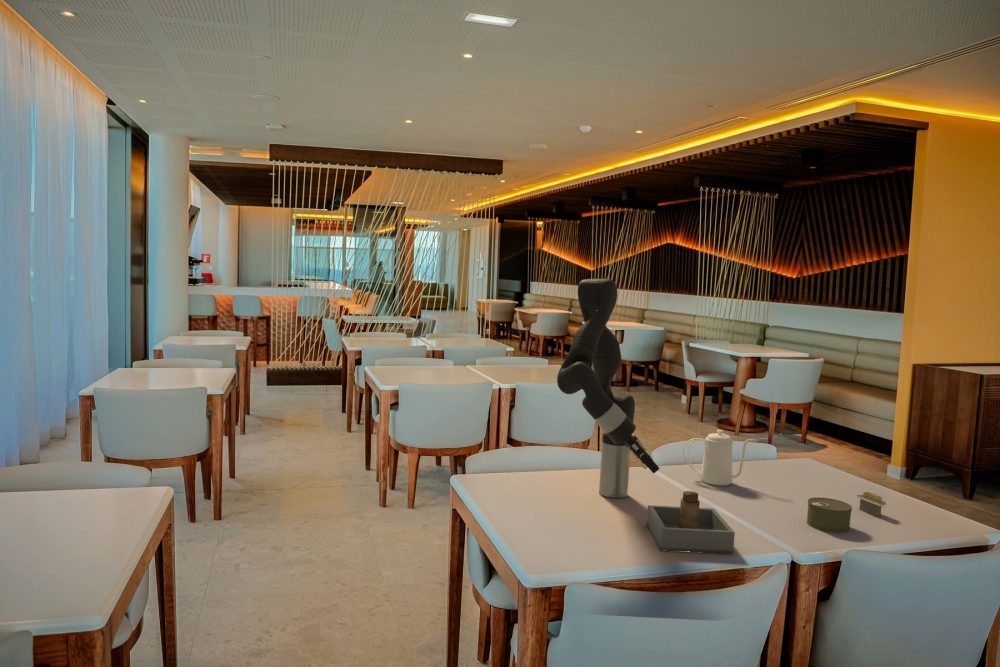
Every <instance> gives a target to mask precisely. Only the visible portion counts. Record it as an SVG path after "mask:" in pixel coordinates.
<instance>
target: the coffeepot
mask: <svg viewBox="0 0 1000 667" xmlns="http://www.w3.org/2000/svg"><path fill="white" fill-rule="evenodd" d="M723 432H724V430H723V429H716V432H713V433H712V432H711V433H709V434H707V436H706V437H705V439H704V438H701V437H695V438H690V439H689V440H687V441H686V442H685V443H684V446H683V450H682V453H683V457H684V460H685V462H686V463H687V465H688V466H689V467H690V468H691V469H692V470H694V471H695V472H697V473H699V476H700V480H701V481H702V483H705V484H708V485H711V486H718V487H719V486H720V487H725V486H730V485H731V484H732V483H733V479H735V478H739V476H740V475H741V474H742V470H743V465H744V458H745V452H746V451H745V450H746V446H747V444H748V443H749V442H759V441H758V439H756V438H748V439H746V440H745V441H744V442H743V445H742V451H741V457H740V462H739V467H738V472H737V473H736V474H735V475H734V474H733V444H734V441H733V440H732V437H731V436H730V435H729V434H725V433H723ZM693 440H694V441H693ZM690 441H693V442H691V444H690V446H689V447H688V450H687V458H686V455H685V446H686V444H688V443H689V442H690ZM698 441H702V442H703V441H704V451H703V452H704V453H703V458H702V465H701V470H700V471H699V469H697V468H695V466H694V465H693V464H692V461H691V460H690V449H691V446H692V445H693V444H694V443H695V442H698ZM687 459H688V460H687Z"/></svg>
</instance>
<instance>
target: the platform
mask: <svg viewBox="0 0 1000 667" xmlns="http://www.w3.org/2000/svg"><path fill="white" fill-rule="evenodd" d="M855 497H856V498H857V499H860V501H859V508H858V510H859V511H861V512H864V513H866V514H868V515H870V516H873V517H875V518H878V519H881V514H882V508H883V507H886V504H887V502H886V501H883V496H881V495H878V494H876V493H872V492H869V491H863V492H862V494H856V496H855Z"/></svg>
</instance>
